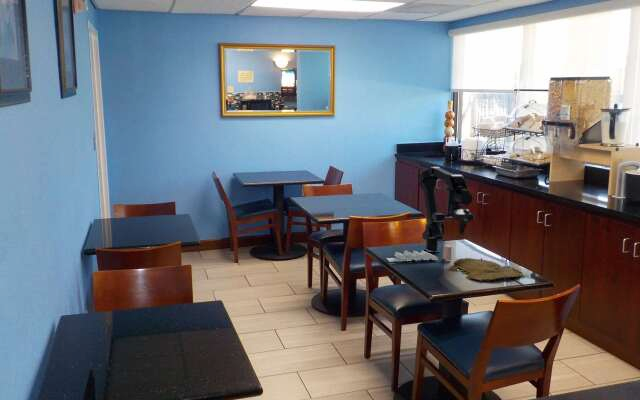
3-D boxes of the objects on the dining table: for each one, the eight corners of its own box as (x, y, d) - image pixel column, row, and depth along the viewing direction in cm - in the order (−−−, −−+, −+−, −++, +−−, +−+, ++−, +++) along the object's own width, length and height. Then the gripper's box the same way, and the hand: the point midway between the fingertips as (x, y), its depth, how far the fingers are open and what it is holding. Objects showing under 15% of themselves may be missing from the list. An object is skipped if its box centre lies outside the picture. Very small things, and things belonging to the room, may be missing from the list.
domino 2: (407, 260, 270) (394, 255, 269) (409, 256, 270) (395, 251, 268) (410, 262, 266) (397, 257, 264) (412, 258, 265) (398, 253, 264)
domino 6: (443, 259, 273) (443, 244, 272) (446, 259, 274) (447, 244, 272) (447, 261, 269) (448, 247, 268) (450, 261, 269) (451, 247, 268)
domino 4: (424, 259, 272) (412, 253, 270) (426, 256, 272) (413, 250, 270) (428, 262, 268) (415, 256, 266) (429, 258, 268) (417, 252, 266)
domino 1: (400, 261, 269) (386, 261, 268) (400, 257, 269) (386, 258, 268) (404, 264, 265) (389, 264, 264) (404, 260, 265) (389, 260, 263)
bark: (537, 270, 246) (481, 277, 234) (536, 278, 247) (481, 286, 234) (492, 254, 271) (440, 259, 258) (492, 262, 271) (439, 268, 259)
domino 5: (432, 259, 273) (420, 253, 271) (434, 255, 273) (422, 249, 271) (436, 261, 269) (423, 255, 267) (438, 258, 268) (425, 252, 267)
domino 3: (415, 259, 271) (403, 253, 269) (417, 256, 271) (405, 250, 269) (419, 262, 266) (406, 256, 265) (421, 258, 266) (408, 252, 265)
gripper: (442, 204, 258) (439, 239, 261) (480, 204, 262) (478, 238, 265) (432, 200, 269) (430, 233, 272) (469, 200, 273) (467, 233, 275)
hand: (451, 234), depth 270 cm, fingers open, 9 cm apart
